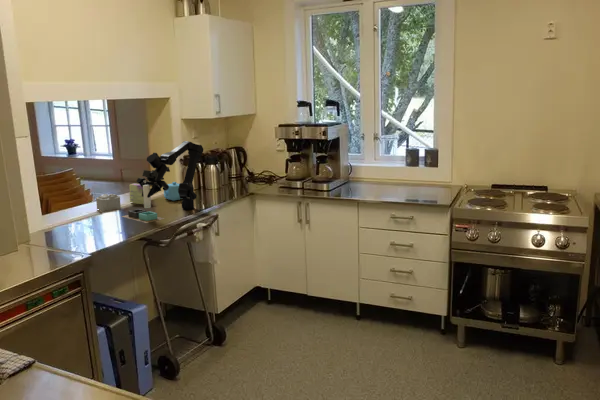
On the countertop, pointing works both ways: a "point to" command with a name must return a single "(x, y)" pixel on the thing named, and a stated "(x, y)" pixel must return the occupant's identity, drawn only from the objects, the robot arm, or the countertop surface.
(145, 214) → the port
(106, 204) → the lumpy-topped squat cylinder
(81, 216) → the countertop surface
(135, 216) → the panel board
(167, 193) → the teapot
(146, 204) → the plug
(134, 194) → the box
